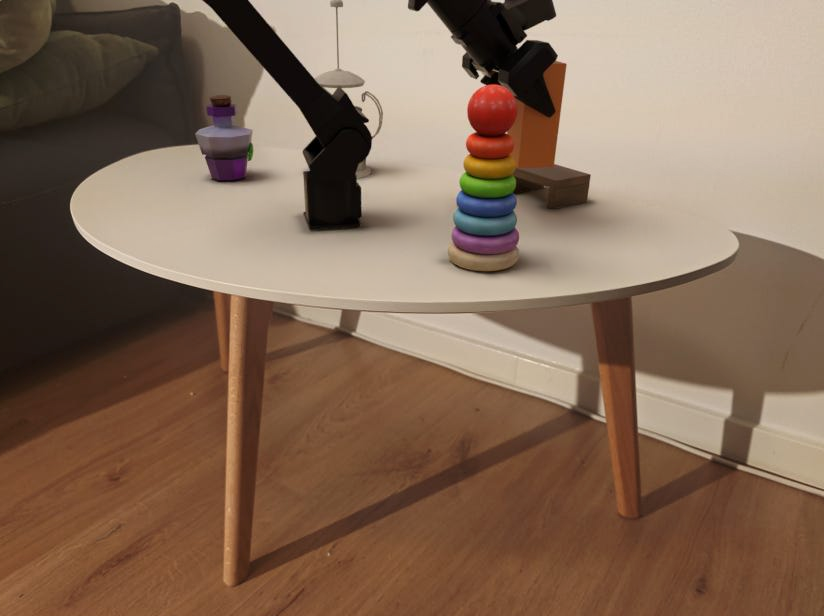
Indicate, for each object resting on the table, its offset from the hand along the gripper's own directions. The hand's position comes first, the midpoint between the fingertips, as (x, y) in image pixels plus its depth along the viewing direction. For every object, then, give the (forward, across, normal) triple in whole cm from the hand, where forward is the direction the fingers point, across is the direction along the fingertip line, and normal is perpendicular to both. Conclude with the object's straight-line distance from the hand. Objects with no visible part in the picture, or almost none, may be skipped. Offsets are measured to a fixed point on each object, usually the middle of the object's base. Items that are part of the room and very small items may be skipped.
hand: (544, 111), depth 90 cm
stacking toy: (0, -17, +19) cm, 25 cm away
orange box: (+4, 0, +6) cm, 7 cm away
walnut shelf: (+13, +7, +6) cm, 15 cm away
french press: (-6, +26, +25) cm, 36 cm away
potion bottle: (-19, +25, +38) cm, 49 cm away
